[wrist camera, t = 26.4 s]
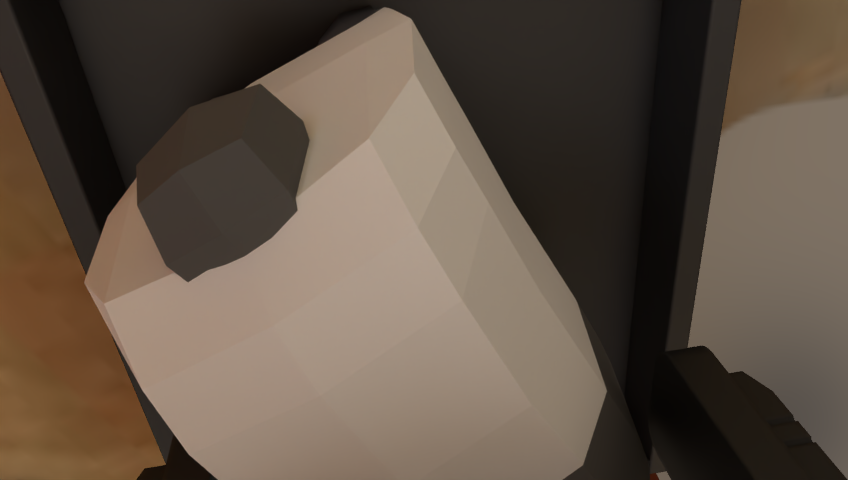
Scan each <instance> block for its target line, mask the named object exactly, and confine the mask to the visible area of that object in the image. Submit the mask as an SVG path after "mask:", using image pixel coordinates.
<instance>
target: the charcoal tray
mask: <svg viewBox="0 0 848 480" xmlns="http://www.w3.org/2000/svg"><path fill="white" fill-rule="evenodd" d="M367 6H372V7H373V9H374V10H377V9H380V8H383V7H386V8H390V9H393V10H395V11H397V12H399V13H401V14H403V15H405V16H407V17H409V18H411V19H412V21H413V23H414V24H415V26H416V28H417V30H418V32H419V33H420V35H421V37H422V39H423V41H424V43H425V44H426V46H427V48H428V50H429V52H430V53H431V55H432V57H433V59H434V61H435V62H436V64H437V66H438V68H439V70H440V71H441V73H442V75H443V77H444V78H445V80H446V82H447V84H448V86H449V87H450V89H451V91H452V93H453V94H454V96H455V98H456V100H457V101H458V103H459V105H460V107H461V108H462V110H463V112H464V114H465V116H466V117H467V119H468V121H469V123H470V124H471V126H472V128H473V130H474V132H475V133H476V135H477V137H478V139H479V141H480V142H481V144H482V146H483V148H484V150H485V151H486V153H487V155H488V157H489V159H490V160H491V162H492V164H493V166H494V168H495V170H496V171H497V173H498V175H499V177H500V179H501V180H502V182H503V184H504V186H505V188H506V189H507V191H508V193H509V195H510V197H511V198H512V200H513V202H514V204H515V205H516V207H517V208H518V210H519V211H520V213H521V215H522V216H523V218H524V219H525V221H526V222H527V224H528V226H529V227H530V229H531V230H532V232H533V233H534V235H535V236H536V238H537V240H538V241H539V243H540V244H541V246H542V247H543V249H544V251H545V252H546V254H547V255H548V257H549V258H550V260H551V261H552V263H553V265H554V266H555V268H556V269H557V271H558V272H559V274H560V276H561V277H562V279H563V280H564V282H565V283H566V285H567V287H568V288H569V290H570V291H571V293H572V294H573V296H574V297H575V299H576V301H577V302H578V304H579V306H580V307H581V309H582V311H583V312H584V314H585V316H586V317H587V319H588V321H589V322H590V324H591V326H592V327H593V329H594V331H595V332H596V334H597V336H598V338H599V340H600V342H601V344H602V346H603V348H604V350H605V352H606V354H607V356H608V358H609V360H610V362H611V364H612V367H613V370H614V372H615V375H616V378H617V380H618V383H619V385H620V388H621V391H622V393H623V396H624V398H625V401H626V404H627V406H628V409H629V412H630V414H631V417H632V419H633V422H634V425H635V427H636V430H637V433H638V435H639V438H640V440H641V443H642V446H643V449H644V452H645V455H646V458H647V461H648V463H649V466H650V474H653V473H658V472H664V471H666V469H665V467H664V466H663V464H662V462H661V460H660V459H659V457H658V455H657V453H656V451H655V449H654V446H653V444H652V440H651V437H650V433H649V427H648V411H649V403H650V395H651V387H652V379H653V371H654V363H655V358H656V356H657V354H658V353H660V352H666V351H672V350H678V349H684V348H687V346H688V340H689V333H690V327H691V321H692V313H693V308H694V301H695V295H696V289H697V282H698V276H699V269H700V263H701V257H702V250H703V244H704V237H705V231H706V224H707V218H708V211H709V205H710V198H711V192H712V185H713V179H714V173H715V166H716V160H717V154H718V147H719V141H720V135H721V128H722V122H723V115H724V109H725V103H726V96H727V90H728V83H729V77H730V70H731V64H732V58H733V51H734V45H735V38H736V32H737V26H738V19H739V13H740V6H741V0H0V72H1V74H2V77H3V79H4V82H5V84H6V86H7V89H8V91H9V93H10V96H11V98H12V100H13V103H14V105H15V108H16V110H17V112H18V115H19V117H20V119H21V122H22V124H23V127H24V129H25V131H26V134H27V136H28V138H29V141H30V143H31V146H32V148H33V150H34V153H35V155H36V157H37V160H38V162H39V164H40V167H41V169H42V172H43V174H44V176H45V179H46V181H47V183H48V186H49V188H50V191H51V193H52V195H53V198H54V200H55V202H56V205H57V207H58V209H59V212H60V214H61V217H62V219H63V221H64V224H65V226H66V228H67V231H68V233H69V236H70V238H71V240H72V243H73V245H74V247H75V250H76V252H77V254H78V257H79V259H80V262H81V264H82V266H83V269H84V271H85V273H86V275H87V273H88V270H89V267H90V264H91V261H92V259H93V256H94V253H95V250H96V248H97V245H98V242H99V239H100V236H101V234H102V231H103V228H104V225H105V223H106V220H107V217H108V215H109V214H110V213H111V211H112V210H113V209H114V207H115V206H116V204H117V203H118V202H119V200H120V199H121V198H122V196H123V195H124V194H125V192H126V191H127V190H128V188H129V187H130V186H131V184H132V183H133V182H134V180H135V179H136V177H137V176H136V165H137V164H138V163H139V162H140V161H141V160H142V158H143V157H144V156H145V155H146V154H147V153H148V152H149V151H150V150H151V149H152V148H153V146H154V145H155V144H156V143H157V142H158V141H159V140H160V139H161V138H162V137H163V136H164V134H165V133H166V132H167V131H168V130H169V129H170V128H171V127H172V126H173V125H174V124H175V122H176V121H177V120H178V119H179V118H180V117H181V116H182V115H183V114H184V113H185V112H186V110H187V109H188V108H189V107H192V106H195V105H198V104H201V103H204V102H207V101H209V100H211V99H212V98H215V97H219V96H223V95H227V94H230V93H233V92H236V91H239V90H242V89H245V88H246V87H247V86H248V85H250V84H251V83H253V82H255V81H256V80H258V79H260V78H262V77H264V76H265V75H267V74H269V73H271V72H272V71H274V70H276V69H278V68H280V67H281V66H283V65H285V64H287V63H289V62H290V61H292V60H294V59H296V58H298V57H299V56H301V55H303V54H305V53H306V52H308V51H310V50H312V49H314V48H315V47H316V46H317V45H318V42H319V40H320V39H321V37H322V36H323V35H324V33H325V32H326V31H327V29H328V28H329V27H330V26H331V24H332V23H333V22H334V20H335V19H336V18H337V17H338V15H339V14H340V13H344V12H348V11H352V10H356V9H360V8H364V7H367ZM110 333H111V332H110ZM111 335H112V334H111ZM112 337H113V336H112ZM113 340H114V342H115V345H116V347H117V349H118V352H119V354H120V356H121V359H122V361H123V363H124V366H125V368H126V371H127V373H128V375H129V378H130V380H131V382H132V385H133V387H134V390H135V392H136V394H137V397H138V399H139V401H140V404H141V406H142V408H143V411H144V413H145V416H146V418H147V420H148V423H149V425H150V427H151V430H152V432H153V435H154V437H155V439H156V442H157V444H158V446H159V449H160V451H161V453H162V456H163V458H164V461H165V463H166V462H167V458H168V454H169V450H170V446H171V442H172V438H173V435H174V433H173V432H172V431H171V429H170V428H169V427H168V425H167V424H166V422H165V421H164V420H163V418H162V417H161V415H160V414H159V413H158V411H157V410H156V409H155V407H154V406H153V404H152V403H151V402H150V400H149V399H148V398H147V396H146V395H145V393H144V392H143V391H142V389H141V387H140V385H139V383H138V382H137V380H136V378H135V376H134V374H133V373H132V371H131V369H130V367H129V365H128V363H127V362H126V360H125V358H124V356H123V354H122V353H121V351H120V349H119V347H118V345H117V343H116V341H115V339H114V338H113Z"/></svg>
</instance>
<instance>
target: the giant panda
mask: <svg viewBox="0 0 848 480" xmlns="http://www.w3.org/2000/svg"><path fill="white" fill-rule="evenodd" d="M136 176H137V177H136V179H135V180H134V182H133V183H132V184H131V186H130V187H129V188H128V190H127V191H126V192H125V194H124V195H123V196H122V198H121V199H120V200H119V202H118V203H117V204H116V206H115V207H114V209H113V210H112V211H111V213H110V214H109V215H108V217H107V220H106V223H105V225H104V228H103V231H102V234H101V236H100V239H99V242H98V245H97V248H96V250H95V253H94V256H93V259H92V261H91V264H90V267H89V270H88V273H87V275H86V278H85V281H84V283H85V285H86V287H87V289H88V291H89V293H90V295H91V296H92V298H93V300H94V302H95V304H96V306H97V308H98V310H99V311H100V313H101V315H102V317H103V319H104V321H105V323H106V325H107V326H108V328H109V330H110V332H111V334H112V336H113V338H114V339H115V341H116V343H117V345H118V347H119V349H120V351H121V353H122V354H123V356H124V358H125V360H126V362H127V363H128V365H129V367H130V369H131V371H132V373H133V374H134V376H135V378H136V380H137V382H138V383H139V385H140V387H141V389H142V391H143V392H144V393H145V395H146V396H147V398H148V399H149V400H150V402H151V403H152V404H153V406H154V407H155V409H156V410H157V411H158V413H159V414H160V415H161V417H162V418H163V420H164V421H165V422H166V424H167V425H168V427H169V428H170V429H171V431H172V432H173V433H174V435H175V436H176V438H177V439H178V440H179V442H180V443H181V445H182V446H183V447H184V449H185V450H186V451H187V453H188V454H189V455H190V456H191V457H192V458H193V459H194V460H196V461H197V462H198V463H199V464H200V465H201V466H203V467H204V468H205V469H206V470H207V471H208V472H209V473H211V474H212V475H213V476H214V477H215V478H216V479H218V480H650V466H649V463H648V461H647V458H646V455H645V452H644V449H643V446H642V443H641V440H640V438H639V435H638V433H637V430H636V427H635V425H634V422H633V419H632V417H631V414H630V412H629V409H628V406H627V404H626V401H625V398H624V396H623V393H622V391H621V388H620V385H619V383H618V380H617V378H616V375H615V372H614V370H613V367H612V364H611V362H610V360H609V358H608V356H607V354H606V352H605V350H604V348H603V346H602V344H601V342H600V340H599V338H598V336H597V334H596V332H595V331H594V329H593V327H592V326H591V324H590V322H589V321H588V319H587V317H586V316H585V314H584V312H583V311H582V309H581V307H580V306H579V304H578V302H577V301H576V299H575V297H574V296H573V294H572V293H571V291H570V290H569V288H568V287H567V285H566V283H565V282H564V280H563V279H562V277H561V276H560V274H559V272H558V271H557V269H556V268H555V266H554V265H553V263H552V261H551V260H550V258H549V257H548V255H547V254H546V252H545V251H544V249H543V247H542V246H541V244H540V243H539V241H538V240H537V238H536V236H535V235H534V233H533V232H532V230H531V229H530V227H529V226H528V224H527V222H526V221H525V219H524V218H523V216H522V215H521V213H520V211H519V210H518V208H517V207H516V205H515V204H514V202H513V200H512V198H511V197H510V195H509V193H508V191H507V189H506V188H505V186H504V184H503V182H502V180H501V179H500V177H499V175H498V173H497V171H496V170H495V168H494V166H493V164H492V162H491V160H490V159H489V157H488V155H487V153H486V151H485V150H484V148H483V146H482V144H481V142H480V141H479V139H478V137H477V135H476V133H475V132H474V130H473V128H472V126H471V124H470V123H469V121H468V119H467V117H466V116H465V114H464V112H463V110H462V108H461V107H460V105H459V103H458V101H457V100H456V98H455V96H454V94H453V93H452V91H451V89H450V87H449V86H448V84H447V82H446V80H445V78H444V77H443V75H442V73H441V71H440V70H439V68H438V66H437V64H436V62H435V61H434V59H433V57H432V55H431V53H430V52H429V50H428V48H427V46H426V44H425V43H424V41H423V39H422V37H421V35H420V33H419V32H418V30H417V28H416V26H415V24H414V23H413V21H412V19H411V18H409V17H407V16H405V15H403V14H401V13H399V12H397V11H395V10H393V9H390V8H386V7H383V8H380V9H377V10H374V9H373V7H372V6H367V7H364V8H360V9H356V10H352V11H348V12H344V13H340V14H339V15H338V17H337V18H336V19H335V20H334V22H333V23H332V24H331V26H330V27H329V28H328V29H327V31H326V32H325V33H324V35H323V36H322V37H321V39H320V40H319V42H318V45H317V46H316V47H315V48H314V49H312V50H310V51H308V52H306V53H305V54H303V55H301V56H299V57H298V58H296V59H294V60H292V61H290V62H289V63H287V64H285V65H283V66H281V67H280V68H278V69H276V70H274V71H272V72H271V73H269V74H267V75H265V76H264V77H262V78H260V79H258V80H256V81H255V82H253V83H251V84H250V85H248V86H247V87H246V88H245V89H242V90H239V91H236V92H233V93H230V94H227V95H223V96H219V97H215V98H212V99H211V100H209V101H207V102H204V103H201V104H198V105H195V106H192V107H189V108H188V109H187V110H186V112H185V113H184V114H183V115H182V116H181V117H180V118H179V119H178V120H177V121H176V122H175V124H174V125H173V126H172V127H171V128H170V129H169V130H168V131H167V132H166V133H165V134H164V136H163V137H162V138H161V139H160V140H159V141H158V142H157V143H156V144H155V145H154V146H153V148H152V149H151V150H150V151H149V152H148V153H147V154H146V155H145V156H144V157H143V158H142V160H141V161H140V162H139V163H138V164H137V165H136Z"/></svg>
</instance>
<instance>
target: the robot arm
mask: <svg viewBox="0 0 848 480" xmlns="http://www.w3.org/2000/svg"><path fill="white" fill-rule="evenodd" d="M648 427H649V433H650V437H651V440H652V444H653V446H654V449H655V451H656V453H657V455H658V457H659V459H660V460H661V462H662V464H663V466H664V467H665V469H666V471H667V473H668V475H669V476H670V478H671V480H847V479H846V478H845V476H844V475H843V474H842V473H841V472H840V470H839V469H838V468H837V467H836V466H835V465H834V463H833V462H832V461H831V460H830V459H829V457H828V456H827V455H826V454H825V453H824V451H823V450H822V449H821V448H820V447H819V446H818V444H817V443H816V442H815V443H813V442H812V440H811V436H810V435H809V434H808V433H807V431H806V430H805V429H804V428H803V427H802V426H801V424H800V423H799V422H798V421H795V420H794V418H793V415H792V414H791V412H790V411H789V410H788V409H787V408H786V407H785V405H784V404H783V403H782V402H781V401H780V400H779V398H778V397H777V396H776V395H775V394H774V392H773V391H772V390H770V389H769V388H767V387H765V386H764V385H762V384H761V383H759V382H758V381H756V380H755V379H753V378H752V377H750V376H749V375H747V374H745V373H744V372H742V371H740V372H734V373H728V372H727V371H726V369H725V368H724V367H723V365H722V364H721V363H720V362H719V360H718V359H717V358H716V357H715V356H714V354H713V353H712V352H711V351H710V350H709V349H708V348H707V347H705V346H697V347H690V348H684V349H678V350H672V351H666V352H660V353H658V354H657V356H656V358H655V363H654V371H653V379H652V387H651V395H650V403H649V411H648ZM137 480H218V479H216V478H215V477H214V476H213V475H212V474H211V473H209V472H208V471H207V470H206V469H205V468H204V467H203V466H201V465H200V464H199V463H198V462H197V461H196V460H194V459H193V458H192V457H191V456H190V455H189V454H188V453H187V451H186V450H185V449H184V447H183V446H182V445H181V443H180V442H179V440H178V439H177V438H176V436H175V435H173V438H172V442H171V446H170V450H169V454H168V458H167V462H166V465H163V466H157V467H151V468H145V469H144V470H143V471H142V473H141V474H140V476H139V477H138V478H137Z"/></svg>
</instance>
